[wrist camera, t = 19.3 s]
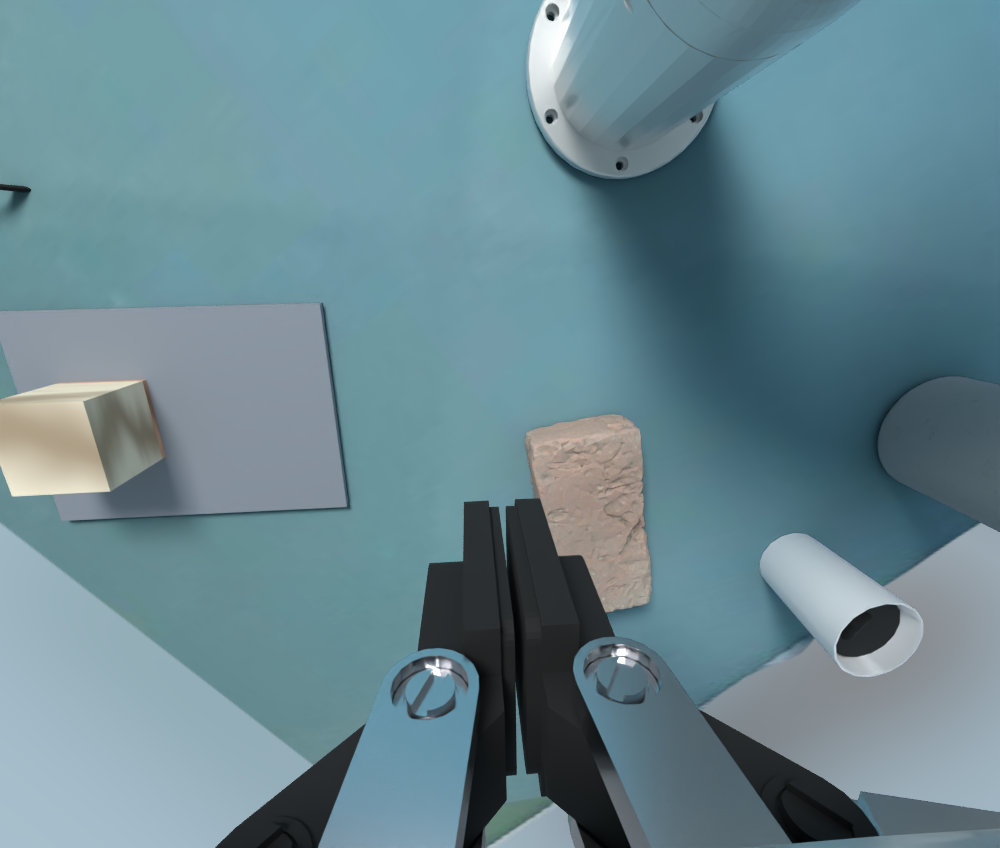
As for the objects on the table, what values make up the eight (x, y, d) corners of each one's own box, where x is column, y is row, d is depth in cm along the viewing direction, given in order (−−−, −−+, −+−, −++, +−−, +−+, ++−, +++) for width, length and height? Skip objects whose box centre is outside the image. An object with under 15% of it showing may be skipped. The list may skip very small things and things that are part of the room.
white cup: (751, 594, 45) (827, 681, 36) (758, 532, 43) (841, 607, 33) (820, 587, 45) (913, 672, 36) (830, 525, 43) (932, 597, 34)
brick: (638, 576, 44) (658, 611, 40) (549, 593, 44) (558, 630, 39) (622, 406, 39) (642, 424, 34) (520, 425, 39) (527, 445, 34)
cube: (82, 401, 29) (145, 379, 35) (-22, 405, 29) (59, 382, 34) (110, 491, 31) (165, 456, 37) (12, 496, 31) (83, 460, 36)
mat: (-2, 311, 33) (-10, 311, 33) (322, 302, 35) (319, 303, 34) (67, 517, 38) (61, 520, 38) (348, 503, 39) (346, 506, 39)
